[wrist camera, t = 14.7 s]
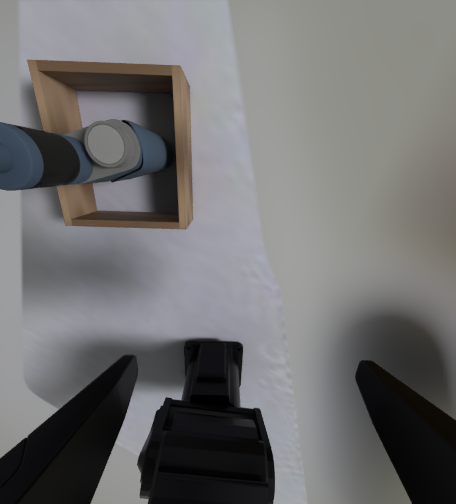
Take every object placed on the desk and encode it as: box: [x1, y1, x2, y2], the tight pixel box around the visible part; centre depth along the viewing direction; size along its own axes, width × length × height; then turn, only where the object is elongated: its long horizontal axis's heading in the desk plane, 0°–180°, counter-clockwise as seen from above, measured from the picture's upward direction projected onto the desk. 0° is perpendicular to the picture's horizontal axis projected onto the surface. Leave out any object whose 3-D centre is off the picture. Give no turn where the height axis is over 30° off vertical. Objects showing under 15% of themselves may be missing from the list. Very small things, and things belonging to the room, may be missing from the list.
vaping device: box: [0, 119, 172, 190], centre depth 13 cm, size 3×5×12 cm, turn 105°
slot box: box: [27, 60, 193, 229], centre depth 16 cm, size 10×9×4 cm
